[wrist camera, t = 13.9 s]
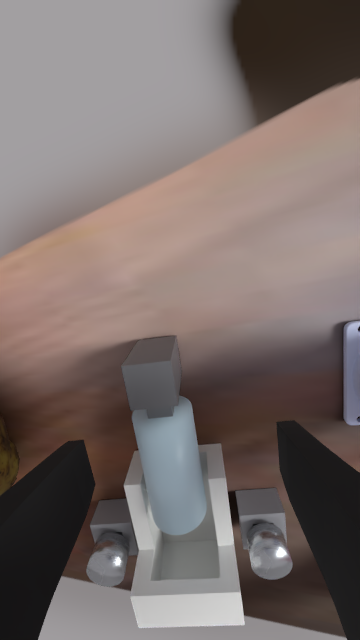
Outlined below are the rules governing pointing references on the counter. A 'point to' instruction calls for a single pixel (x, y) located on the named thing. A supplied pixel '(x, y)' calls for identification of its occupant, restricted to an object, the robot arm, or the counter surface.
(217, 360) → the counter surface
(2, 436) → the potato
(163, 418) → the cartridge
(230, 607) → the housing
